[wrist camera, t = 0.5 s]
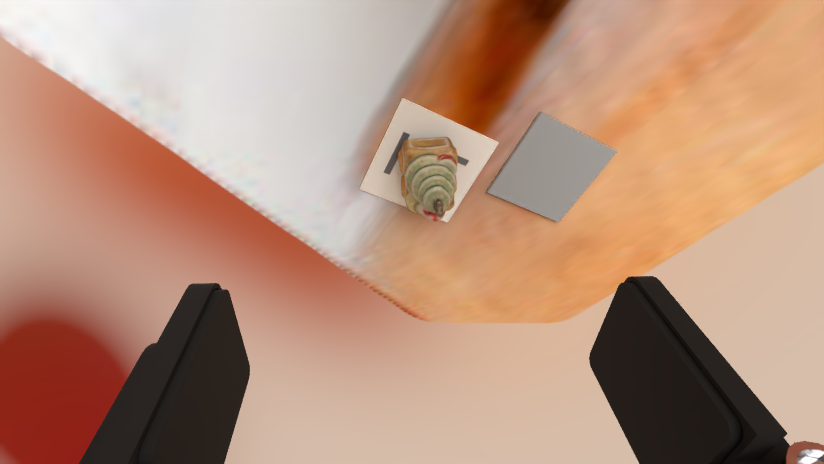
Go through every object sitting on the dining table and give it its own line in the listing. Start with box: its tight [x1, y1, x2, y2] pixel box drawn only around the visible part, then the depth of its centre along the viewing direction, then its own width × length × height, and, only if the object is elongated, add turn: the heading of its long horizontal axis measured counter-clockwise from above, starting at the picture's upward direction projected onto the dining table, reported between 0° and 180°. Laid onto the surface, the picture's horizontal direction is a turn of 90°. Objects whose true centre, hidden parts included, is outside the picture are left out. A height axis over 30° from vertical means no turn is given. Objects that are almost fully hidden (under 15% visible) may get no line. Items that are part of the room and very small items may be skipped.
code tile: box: [359, 98, 499, 222], centre depth 44 cm, size 11×11×1 cm
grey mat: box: [487, 112, 617, 222], centre depth 46 cm, size 10×10×1 cm
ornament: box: [398, 137, 458, 221], centre depth 40 cm, size 8×6×10 cm
